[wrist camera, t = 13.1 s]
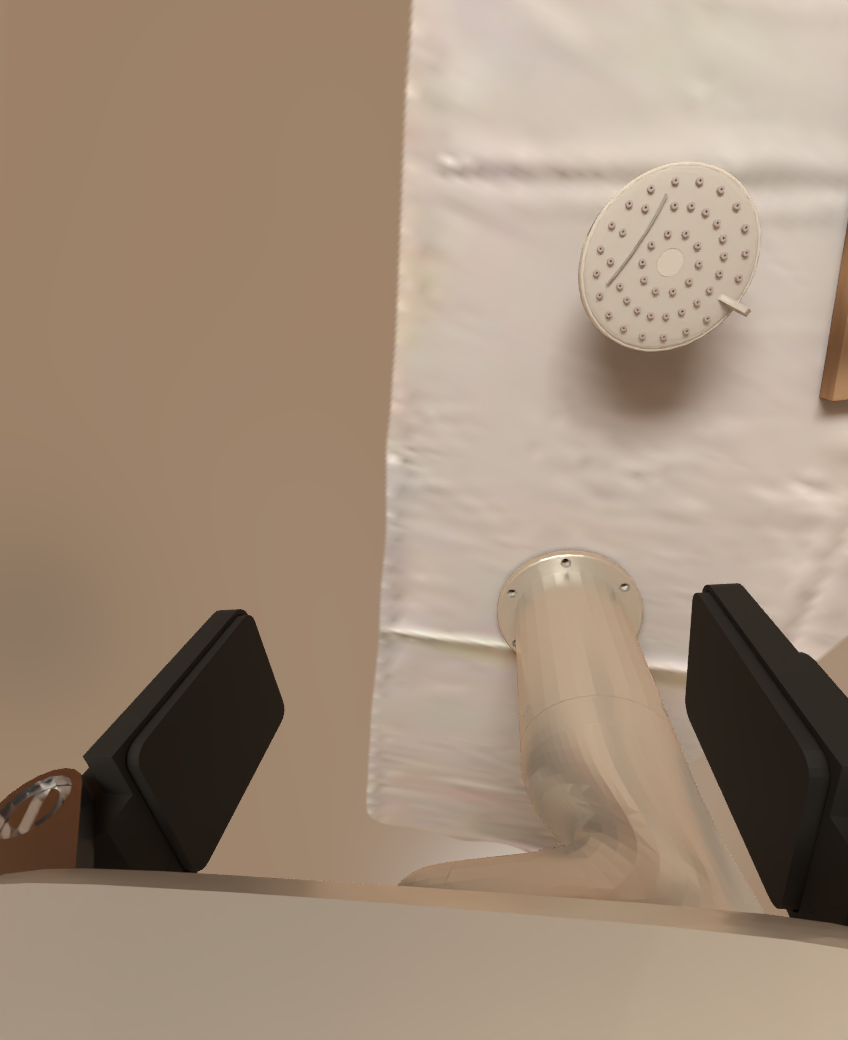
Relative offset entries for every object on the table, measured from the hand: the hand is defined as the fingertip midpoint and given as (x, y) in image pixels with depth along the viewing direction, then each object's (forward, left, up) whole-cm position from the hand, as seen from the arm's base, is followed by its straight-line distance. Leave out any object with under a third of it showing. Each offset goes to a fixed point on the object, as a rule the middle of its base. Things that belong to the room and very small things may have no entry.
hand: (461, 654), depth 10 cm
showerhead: (+7, -11, -31) cm, 33 cm away
